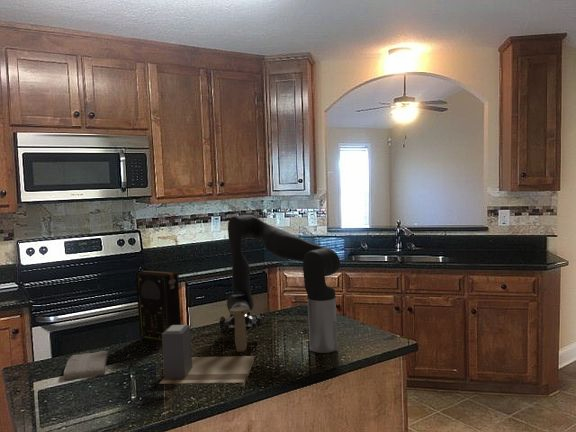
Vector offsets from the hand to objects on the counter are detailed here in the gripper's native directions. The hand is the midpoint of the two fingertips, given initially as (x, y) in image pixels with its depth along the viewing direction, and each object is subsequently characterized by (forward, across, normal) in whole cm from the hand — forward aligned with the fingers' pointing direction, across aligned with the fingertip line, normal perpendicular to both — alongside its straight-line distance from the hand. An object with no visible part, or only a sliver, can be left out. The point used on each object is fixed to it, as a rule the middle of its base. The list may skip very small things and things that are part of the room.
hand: (240, 327), depth 163 cm
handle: (+2, 0, +8) cm, 9 cm away
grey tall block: (+18, -18, +7) cm, 27 cm away
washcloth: (+4, -49, +9) cm, 50 cm away
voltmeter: (-20, -30, +8) cm, 37 cm away
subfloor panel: (+17, -10, +8) cm, 21 cm away
